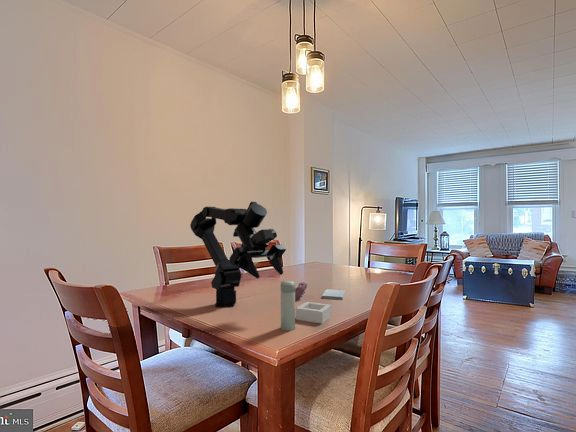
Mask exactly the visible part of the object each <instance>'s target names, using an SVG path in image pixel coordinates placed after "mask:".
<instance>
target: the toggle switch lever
mask: <svg viewBox="0 0 576 432" xmlns="http://www.w3.org/2000/svg"><path fill="white" fill-rule="evenodd" d="M296 288H297V287H296V281H293V280H282V281H280V330H282V331H284V332H287V331H288V332H290V331H294V330H295V329H296V299H295V290H296Z"/></svg>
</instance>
